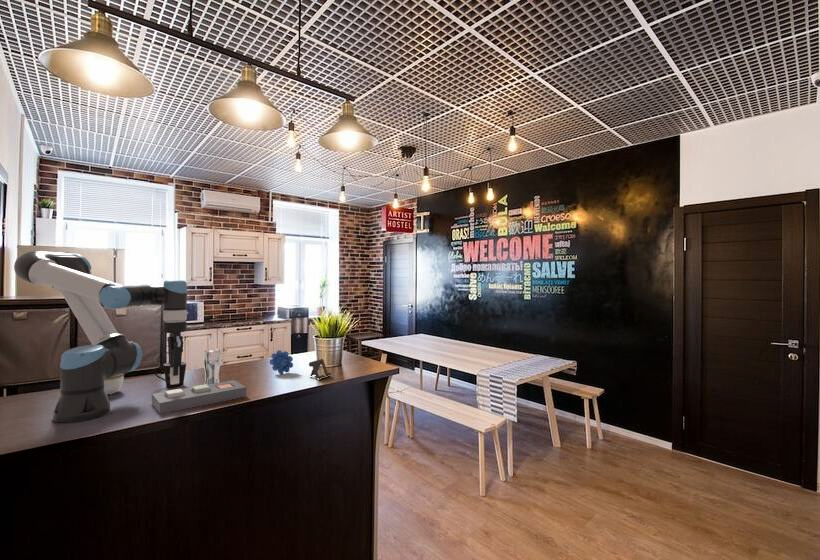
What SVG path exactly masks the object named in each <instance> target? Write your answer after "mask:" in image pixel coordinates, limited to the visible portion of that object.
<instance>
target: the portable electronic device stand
mask: <svg viewBox="0 0 820 560" xmlns="http://www.w3.org/2000/svg"><path fill="white" fill-rule="evenodd" d="M308 366H309V367H310V368H311V367H312V370H311V372H310V375H309V377H310V376H312V375H313V376H314V375H316V376H315V379H316V378H319V379H320V378H322V377H325V375H326V376H328V375H331V376H332V372H328V368H327V366H326V363H325V361H324V359H323V358H320V359H316V360H313V361H310V362H309V363H308ZM320 366H322V369H323V373H324V374H322V375H320V374H319V369H320ZM313 376H312V377H313Z"/></svg>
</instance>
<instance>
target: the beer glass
mask: <svg viewBox="0 0 820 560" xmlns="http://www.w3.org/2000/svg"><path fill="white" fill-rule="evenodd" d="M221 358H222V355H221V350H220V349H207V350H204V351H203V369H204V375H205V379H204V384H203V385H205V384H206V385H208V384H214V383H220V377H219V374H220V368H221V360H222V359H221Z"/></svg>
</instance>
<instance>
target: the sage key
mask: <svg viewBox="0 0 820 560" xmlns="http://www.w3.org/2000/svg"><path fill="white" fill-rule="evenodd" d="M191 387H192V392H193V393H194V394H195V393H201V392H206V391H210V387H209V386H208V385H206V384H205V385H204V384H200V385H194V386H191Z"/></svg>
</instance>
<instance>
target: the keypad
mask: <svg viewBox="0 0 820 560" xmlns="http://www.w3.org/2000/svg"><path fill="white" fill-rule="evenodd" d="M225 384H231V385H232V386H234V387H229V388H223V389H219V388H217V386H219V385H225ZM208 386H209V387H210V391H206V392H201V393H195V394H194V393H193V392H192V387H193V386H191V387H186V388H180V389H181V390H183V391H184V396H179V397H173V398H166V397H165V391H161V392H154V393H151V406H152V407H153V406H154V407H153V409H155V410H156V412H157V411H158V412H157V413H158V414H159V415H163V413H164V414H168V413H167V412H169V413H172V412H171V411H174V412H178V411H177V410H179V411H182V409H184V410H188V409H187V408H189V409H193V408H192V407H194V408H198V407H197V406H199V407H203V406H202V405H204V406H209V405H212V404H218V403H223V402H227V400H228V401H232V399H233V400H237V398H238V399H241V398H240V397H243V398H246V397H247V386H246V385H243V384H242V383H240V382H239V381H237V380H234V379H231V380H227V381H221V382H220V381H219V383H214V384H208ZM245 396H246V397H245ZM222 401H223V402H222ZM208 404H209V405H208Z"/></svg>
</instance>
